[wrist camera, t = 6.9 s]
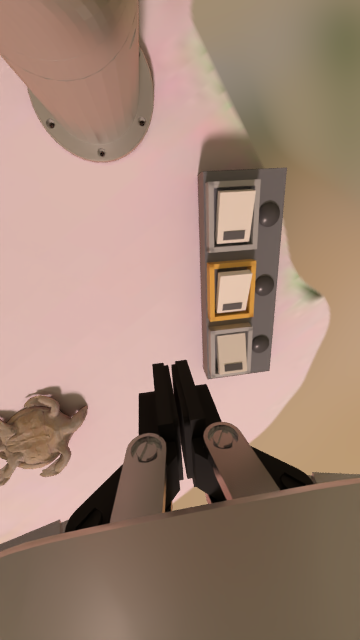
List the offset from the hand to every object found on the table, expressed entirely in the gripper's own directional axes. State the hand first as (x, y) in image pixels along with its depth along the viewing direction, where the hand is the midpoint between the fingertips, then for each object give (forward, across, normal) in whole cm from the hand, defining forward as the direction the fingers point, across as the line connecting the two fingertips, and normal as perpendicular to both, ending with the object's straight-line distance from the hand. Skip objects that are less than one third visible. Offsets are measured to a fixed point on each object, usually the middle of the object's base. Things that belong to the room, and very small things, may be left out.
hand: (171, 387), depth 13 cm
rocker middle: (+21, -10, +2) cm, 23 cm away
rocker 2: (+21, -10, +11) cm, 25 cm away
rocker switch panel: (+25, -12, +2) cm, 28 cm away
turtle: (+26, +21, +22) cm, 40 cm away
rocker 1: (+21, -10, -7) cm, 24 cm away
